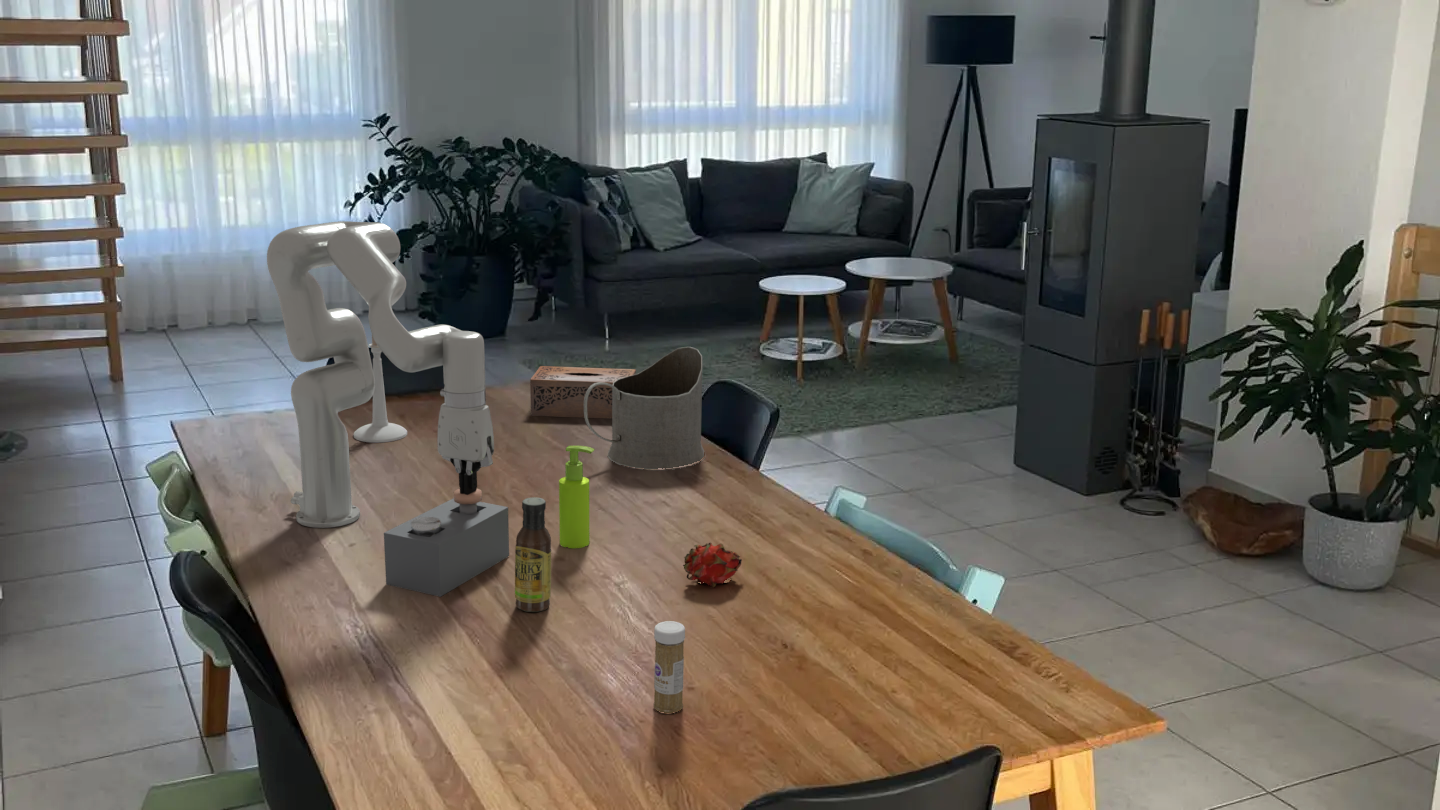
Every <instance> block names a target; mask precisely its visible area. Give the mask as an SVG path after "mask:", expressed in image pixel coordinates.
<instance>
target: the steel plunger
mask: <svg viewBox="0 0 1440 810" xmlns="http://www.w3.org/2000/svg"><path fill="white" fill-rule="evenodd" d="M411 529H412V532H413V533H415V534H417V535H420V536H425V537H431V536H433V535H435V533H437V532H439V531H440V530H441V521H440V519H438V518H435V517H420V518H416V519H414V520H412V522H411Z"/></svg>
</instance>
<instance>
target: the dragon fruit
mask: <svg viewBox="0 0 1440 810" xmlns="http://www.w3.org/2000/svg"><path fill="white" fill-rule="evenodd" d="M694 547H695V548H690V550H689V551H688V552H689V553H686V554H685V556H684V557H683V558H684V560H683V561H684V564H683V565H682V566H683V570H684V572H686V573H687V574H686V579H687V580H689V581H696V580H697V581H696V582H697V583H698V582H701V584H702V585H704V584H707V585H708V586H709V585H710V586H709V587H712V588H715V587H716V585H717V584H723V583H724V581H725V580H727V579H731V577H733V576H734V575H735V574H736V573H737V572H738V569H739V568H740V567H741V565H742V561H743V560H742V558H740V557H741V556H739V554H738V553H737V552H734V551H733V550H727V549H726V548H725V546H724V544H723V543H719V544H717V545H713V543H712V542H708V543H705V544H704V545H701V544H695V545H694ZM689 575H691V576H689ZM703 582H705V583H703Z"/></svg>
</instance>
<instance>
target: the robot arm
mask: <svg viewBox="0 0 1440 810" xmlns="http://www.w3.org/2000/svg"><path fill="white" fill-rule="evenodd" d="M400 253H401V242H400V239H399V236H398V235H397V234H396V232H395V231H394V230H393V229H392V228H391V227H390V226H389V225H386V224H385V223H383V222H378V221H377V222H375V221H374V222H373V221H372V222H369V221H367V222H366V221H350V220H349V221H347V220H346V221H345V220H342V221H341V220H340V221H331V222H324V223H317V224H316V223H315V224H307V225H301V226H295V227H292V228H288V229H285V230H283V231H281V232H279V233H277V234H276V235H275V236H274V237H273V238H272V239H271V241H270V243H269V245H268V247H267V251H266V263H267V269H268V272H269V276H270V277H271V280H272V282H273V285H274V287H275V290H276V293H277V297H278V300H279V305H280V306H279V307H280V310H281V315H282V319H283V326H284V329H285V334H286V338H287V342H288V343H287V344H288V346H289V350H290V352H291V354H292V356H293V357H294V359H295V360H297V361H299V362H302V363H314V362H318V361H322V360H326V359H332V358H333V360H334V363H332V364H327V365H322V366H320V367H319V366H318V367H315V368H312V369H308V370H306V371H304V372H301V374H299V375H298V376H297V377H296V378H294V380H293V382H292V385H291V387H290V396H291V401H292V405H293V409H294V414H295V416H296V422H297V430H298V440H299V441H298V442H299V444H298V445H299V453H300V454H299V455H300V457H299V458H300V470H301V471H300V472H301V485H302V491H298V490H297V491H295V492H294V494H293V496H292V497H291V498H290V503H291V504H293V505H298V506H299V510H298V511H297V513H296V514H295V515H296V516H295V519H296V522H297V523H298V524H300V525H302V526H305V527H308V528H314V529H317V528H318V529H327V528H337V527H338V528H339V527H341V526H346V525H349V524H352V523H354V522H355V521H357V520H358V519H360V517H361V510H360V508H359V507H358V506H356V505H354V504H352V487H351V484H352V483H351V468H350V467H351V465H350V463H351V462H350V446H349V445H350V444H349V435H348V431H347V428H346V425H345V424H344V423H343V421H342V420H341V418H340V417H339V412H341V411H344V410H347V409H351V408H355V407H358V406H361V405H364V404H366V403H368V402H369V401H370V400H371V399H372V398H373V393H374V389H375V380H374V373H373V362H372V359H371V355H370V354H371V353H370V349H369V344H368V339H367V338H368V337H367V335H366V330H365V328H364V325H363V323H362V321H361V320H360V318H359V317H358V315H356V313H355V312H353V311H352V310H350V309H348V308H344V307H336V308H330V309H328V308H327V305H326V304H327V303H326V300H325V295H324V291H323V289H322V287H321V285H320V283H319V282H318V281H317V279H316V278H315V277H314V276H313V275H312V274H311V273H310V272H309V271H310V270H313V269H314V270H315V269H319V268H327V267H333V266H335V267H336V268H337V269H338V270H339V271H340V273H341V274H342V275H343V276H344V278H345V279H346V280H347V281H348V283H350V285H351V286H352V287H353V288H354V289H355V290H356V292H357V293H358V294H359V295H360V297H361V298H362V299H363V300H364V301H365V302H366V304H367V305H368V323H369V329H370V332H371V337H372V336H373V339H374V340H375V342H376V344H377V345H378V347H379V348H380V349H381V350H382V352H381V353H383V354H384V355H385V356H386V358H388V360H389V361H390V362H391V363H392V364H393V365H394V366H395V367H397V368H398V369H400V370H401V371H403V372H406V373H416V372H421V371H425V370H429V369H432V368H437V367H442V366H443V368H442V369H443V388H441V389H440V392H439V393H440V394H439V395H440V396H441V397H444V403H442V404H441V405H440V409H439V414H438V422H437V440H436V441H437V442H436V443H437V452H438V454H439V455H440V456H441V457H442V459H443V460H446V462H450V463H451V464H452V465H453V467H454V469H455V472H456V473H457V474H458V486H459V487H458V488H459V489H460V493H461V494H464V493H465V494H466V495H469V494H471V493H473V492H475V491H476V490H477V489H478V472H479V471H480V469H481V468H486V467H490V466H492V465H494V460H493V455H494V451H495V438H494V430H493V429H494V428H493V422H492V421H493V420H492V414H491V411H490V408H489V405H487V399H486V397H487V396H486V364H485V340H484V337H483V335H482V334H481V333H479V332H476V331H469V330H461V329H459V328H456V327H454V326H451V325H449V324H443V323H442V324H436V325H430V326H427V327H422V328H417V329H414V330H410V331H408V330H407V329H406V327H404V325H403V324H402V323H401V322H400V321H399V319H398V318H397V316H396V315H395V313H394V311H393V308H392V307H393V306H394V305H395V304H396V303H397V302H398V301H399V300H400V299H401V297H402V296H403V294H404V293H405V291H406V288H407V281H406V277H405V276H404V275H403V274H402V273H401V271H400V270H398V268H397V267H396V266H395V264H393V263H394V262H395V261H397V260H398V258H399V256H400Z"/></svg>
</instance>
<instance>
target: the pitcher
mask: <svg viewBox="0 0 1440 810" xmlns="http://www.w3.org/2000/svg"><path fill="white" fill-rule="evenodd" d="M597 385H608V386H610V387H612V419H611V423H612V424H611V433H612V435H611V438H612V439H608V438H605V437H603V436H602V435H600V434H599V433H598V432H597V431H595V429H594V428H593V427H592V425H591V424H590V421H589V418H588V415H587V400H588V396H589V393H590V391H591V390H592V389H593V388H594V387H595V386H597ZM702 392H703V355H702V354H701V352H700V351H699V349H698V348H695V347H691V346H684V347H678V348H676V349H675V350H672V351H670V352H669V353H668V354H665V355H664V356H663V357H661V358H660V359H659V360H657V361H656V362H654V363H653V364H652V365H650V366H648V367H647V368H645V369H644V370H641V371H640V372H638V373H636V374H635V375H631V376H627V377H624V378H621V379H618V380H616V381H615V382H613V385H611V384H608V383H604V382H598V383H594V384H592V385H591V386H590V387H589V388H588V390H587V392H586V394H585V397H584V417H585V418H584V417H583V418H584V422H585V424H586V425H587V427H588V429H589V430H590V431H591V432H592V433H593V435H595V436H596V437H597V438H600V439H602V440H604V441H606V442H609V443H611V445H610V447H609V449H608V452H607V457H608V459H609V461H611V462H612V461H613V462H612V463H614V462H615V464H617V465H619V466H621V465H624V466H623V467H625V466H629V467H635V468H644V469H658V468H662V469H663V468H665V469H666V468H673V467H679V466H684V465H688V464H692V463H694V462H697V461H700V460H701V459H702V458H703V457H704V452H705V450H704V447H703V444H702V439H701V438H702V398H703V397H702V396H703V395H702V394H703V393H702ZM629 467H628V468H629ZM635 468H634V469H635Z"/></svg>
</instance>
